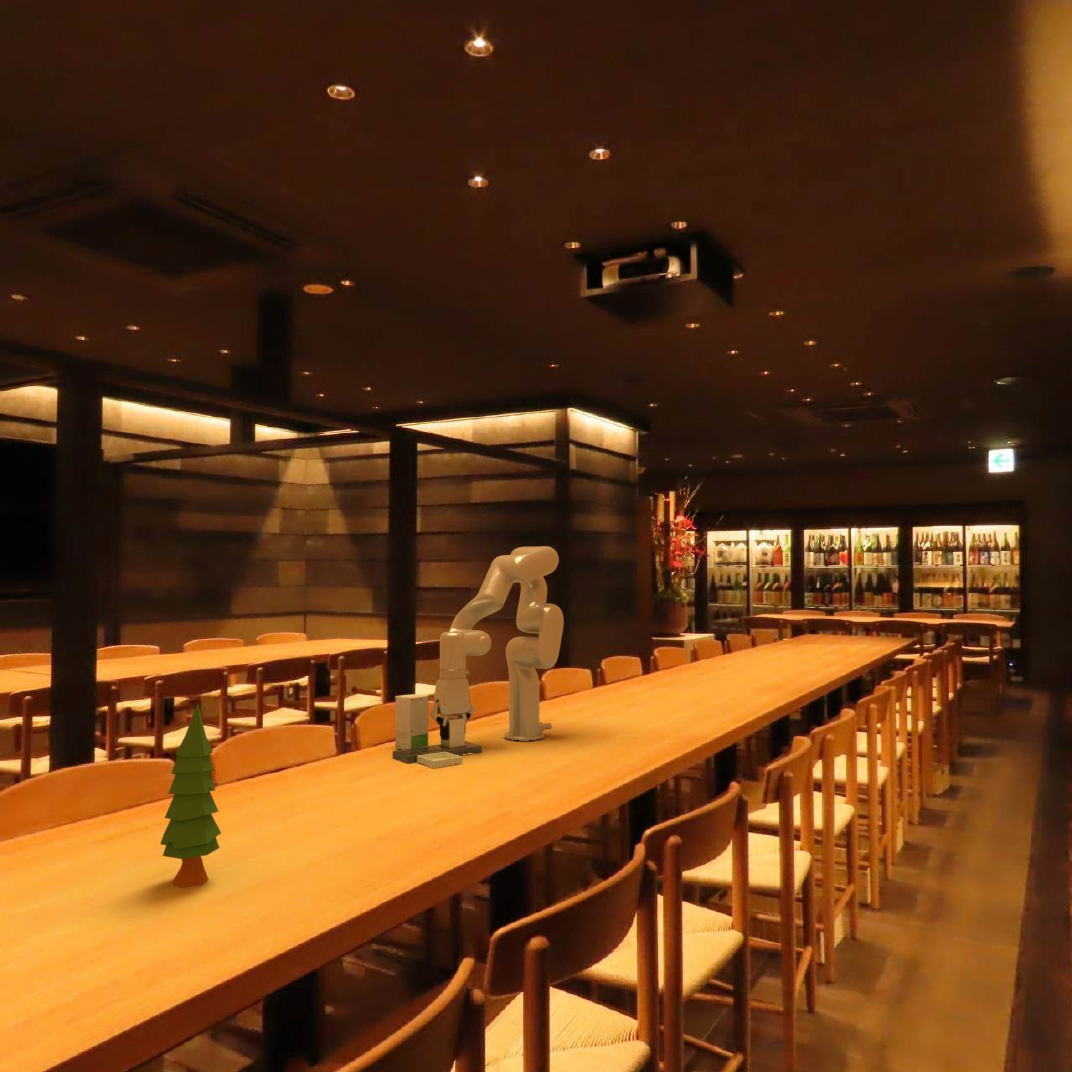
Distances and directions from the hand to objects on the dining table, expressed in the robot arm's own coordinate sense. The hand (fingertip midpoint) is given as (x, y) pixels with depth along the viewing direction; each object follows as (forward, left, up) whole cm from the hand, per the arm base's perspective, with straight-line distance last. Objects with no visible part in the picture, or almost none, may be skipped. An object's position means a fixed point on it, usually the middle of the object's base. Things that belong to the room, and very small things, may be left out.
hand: (452, 737), depth 258 cm
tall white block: (0, 0, -5) cm, 5 cm away
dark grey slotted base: (+5, 0, -5) cm, 7 cm away
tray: (+10, +9, -5) cm, 14 cm away
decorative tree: (+91, +64, -5) cm, 112 cm away
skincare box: (+6, -14, -5) cm, 15 cm away
